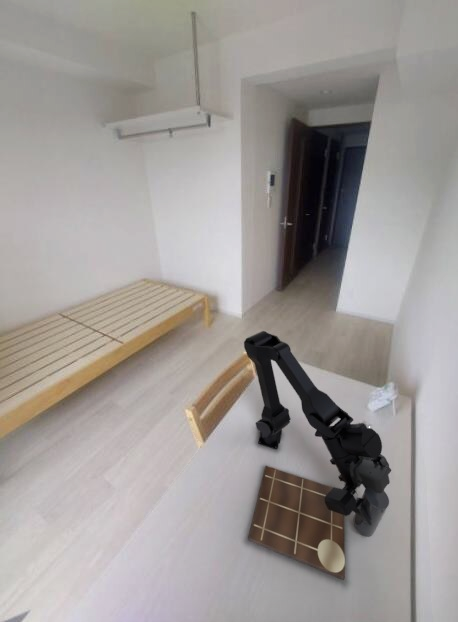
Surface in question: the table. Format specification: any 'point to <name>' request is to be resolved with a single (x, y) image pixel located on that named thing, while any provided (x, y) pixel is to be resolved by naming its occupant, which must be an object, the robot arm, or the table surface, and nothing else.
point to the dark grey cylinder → (371, 511)
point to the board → (299, 522)
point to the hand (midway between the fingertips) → (375, 516)
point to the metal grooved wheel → (367, 425)
